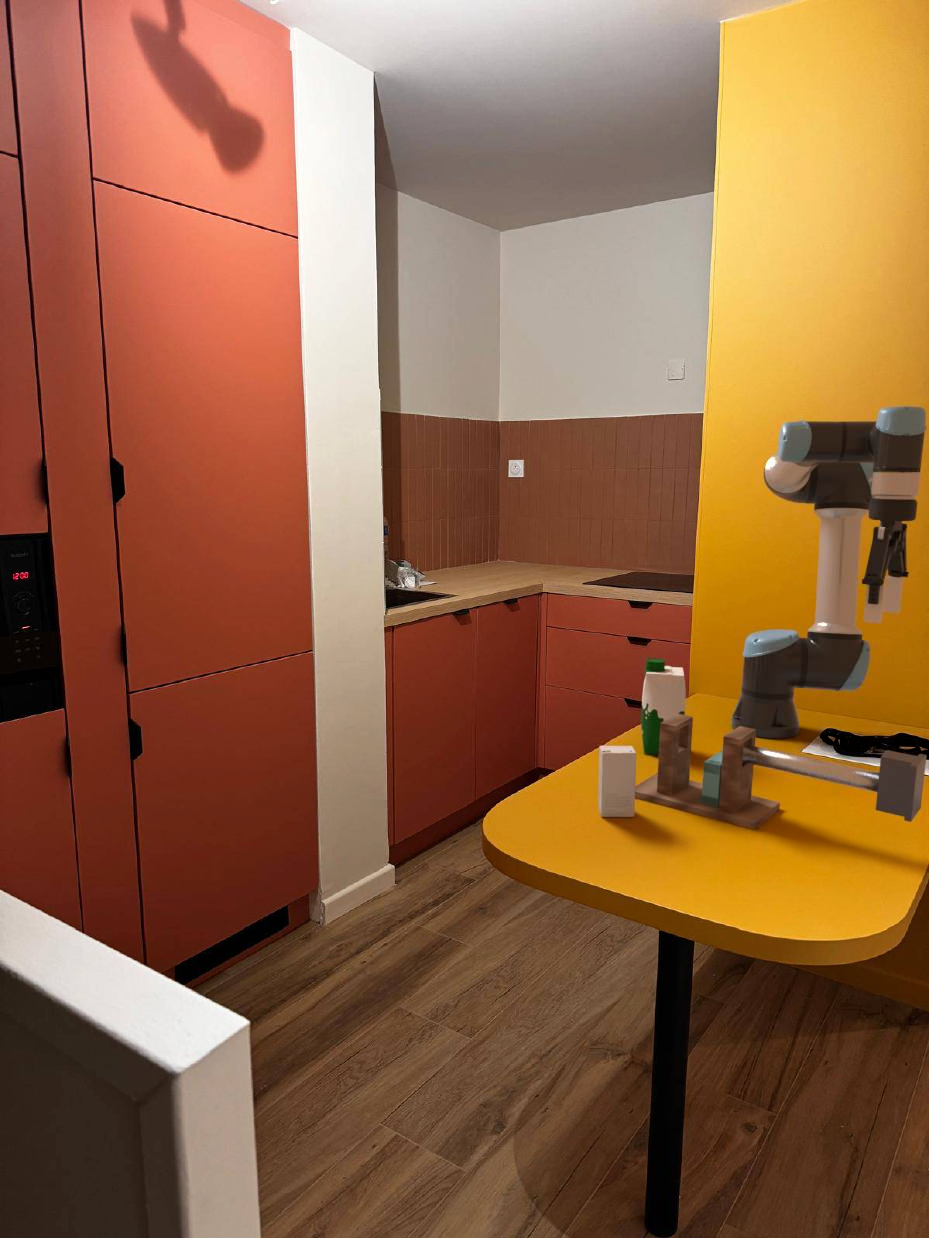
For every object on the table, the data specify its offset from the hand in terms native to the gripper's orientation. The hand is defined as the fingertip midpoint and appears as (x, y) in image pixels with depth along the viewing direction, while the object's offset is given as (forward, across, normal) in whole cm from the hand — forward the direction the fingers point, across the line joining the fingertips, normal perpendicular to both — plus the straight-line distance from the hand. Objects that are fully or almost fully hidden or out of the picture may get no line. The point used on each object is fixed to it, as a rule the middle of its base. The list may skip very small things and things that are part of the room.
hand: (882, 617), depth 156 cm
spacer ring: (+34, +20, -20) cm, 44 cm away
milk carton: (+35, -2, -42) cm, 55 cm away
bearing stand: (+35, +20, -23) cm, 46 cm away
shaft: (+28, +20, -3) cm, 34 cm away
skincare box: (+35, +35, -33) cm, 59 cm away
